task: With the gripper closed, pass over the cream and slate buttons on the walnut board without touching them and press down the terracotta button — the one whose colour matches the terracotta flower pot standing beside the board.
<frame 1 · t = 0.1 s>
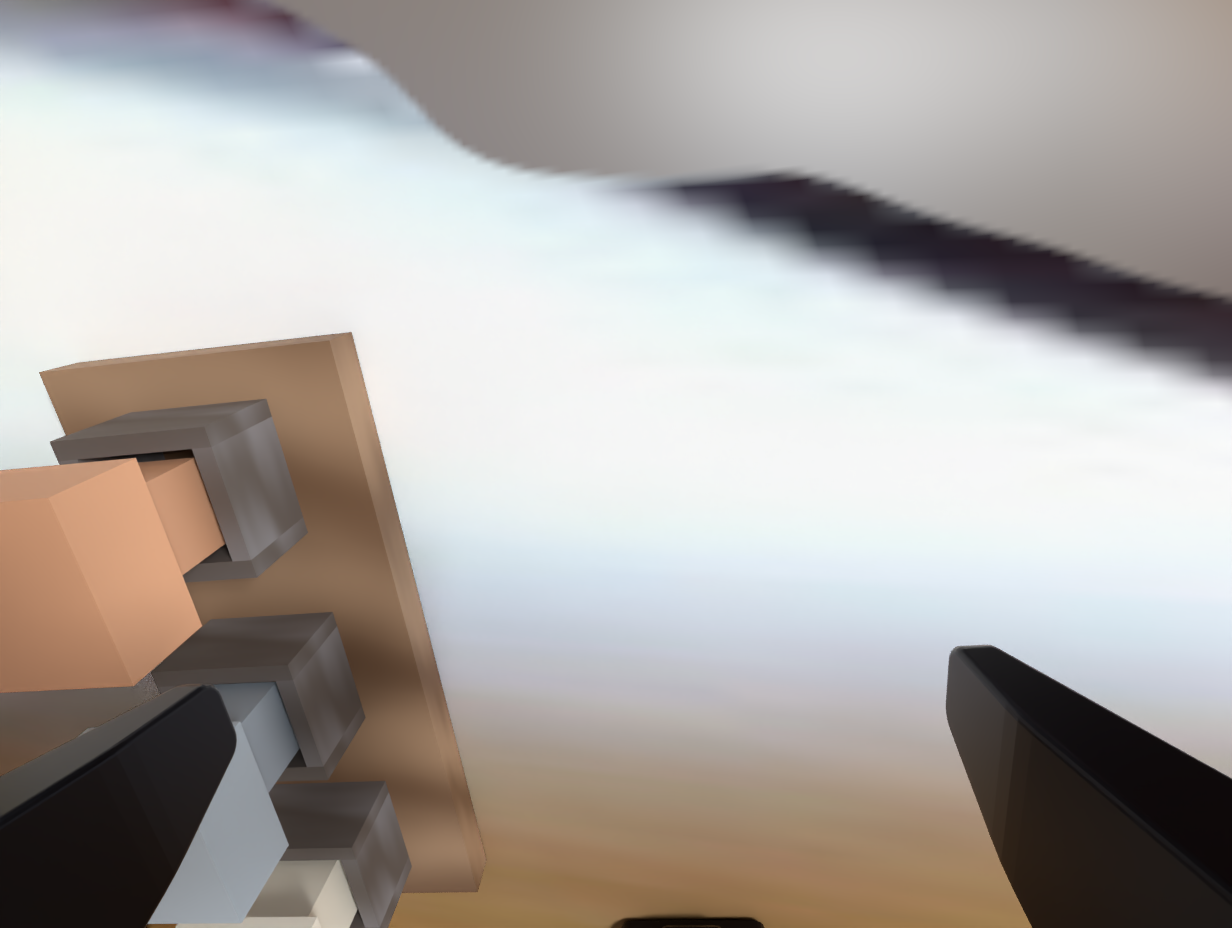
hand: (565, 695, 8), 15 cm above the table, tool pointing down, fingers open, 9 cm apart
walnut button board: (310, 645, 26), on the table
slate button: (197, 780, 20), point 7 cm above the table, slide at 0.0 cm
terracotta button: (95, 547, 17), point 7 cm above the table, slide at 0.0 cm
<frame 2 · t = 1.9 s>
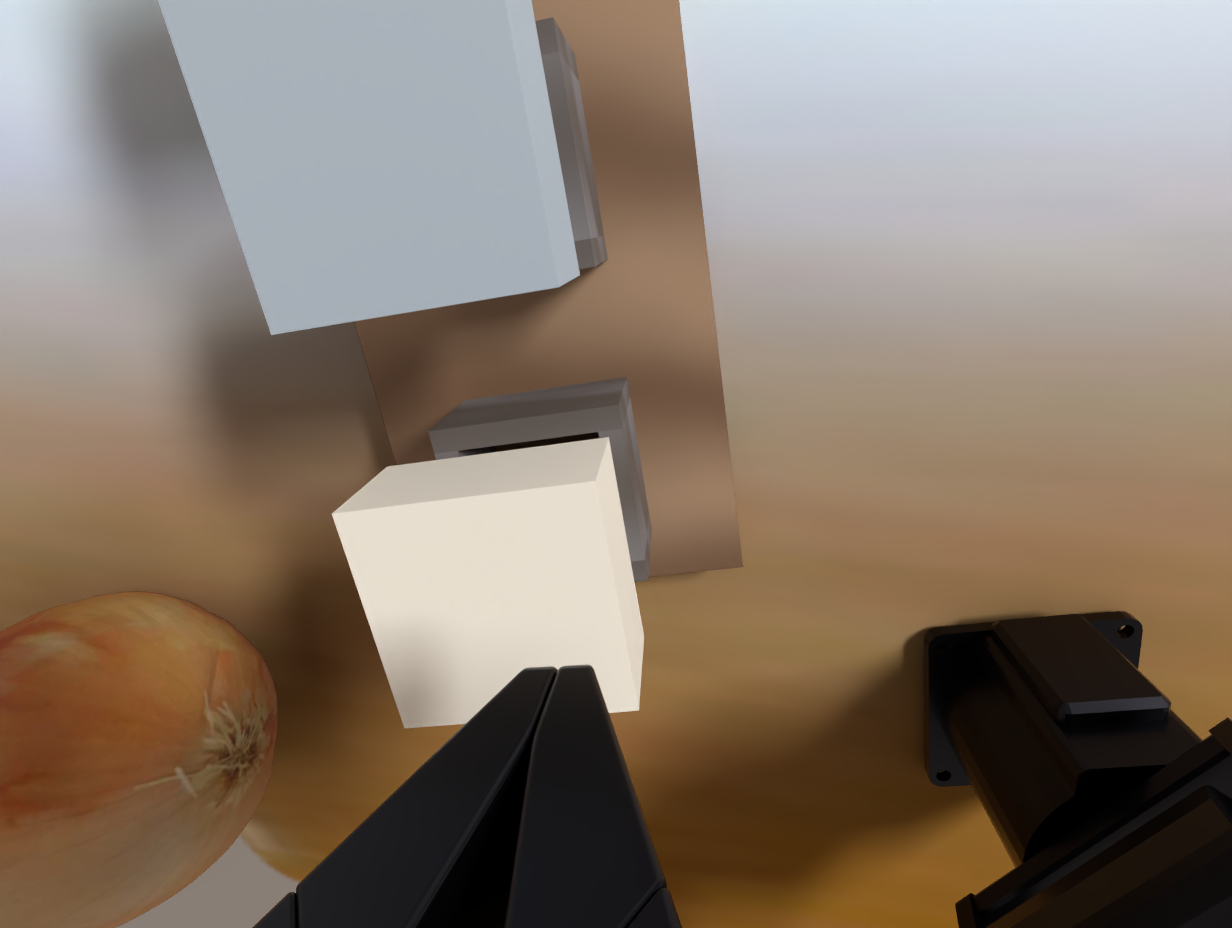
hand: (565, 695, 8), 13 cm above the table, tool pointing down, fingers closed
onion: (213, 653, 25), on the table
cream button: (522, 548, 15), point 7 cm above the table, slide at 0.0 cm
walnut button board: (514, 182, 18), on the table
slate button: (431, 161, 12), point 7 cm above the table, slide at 0.0 cm
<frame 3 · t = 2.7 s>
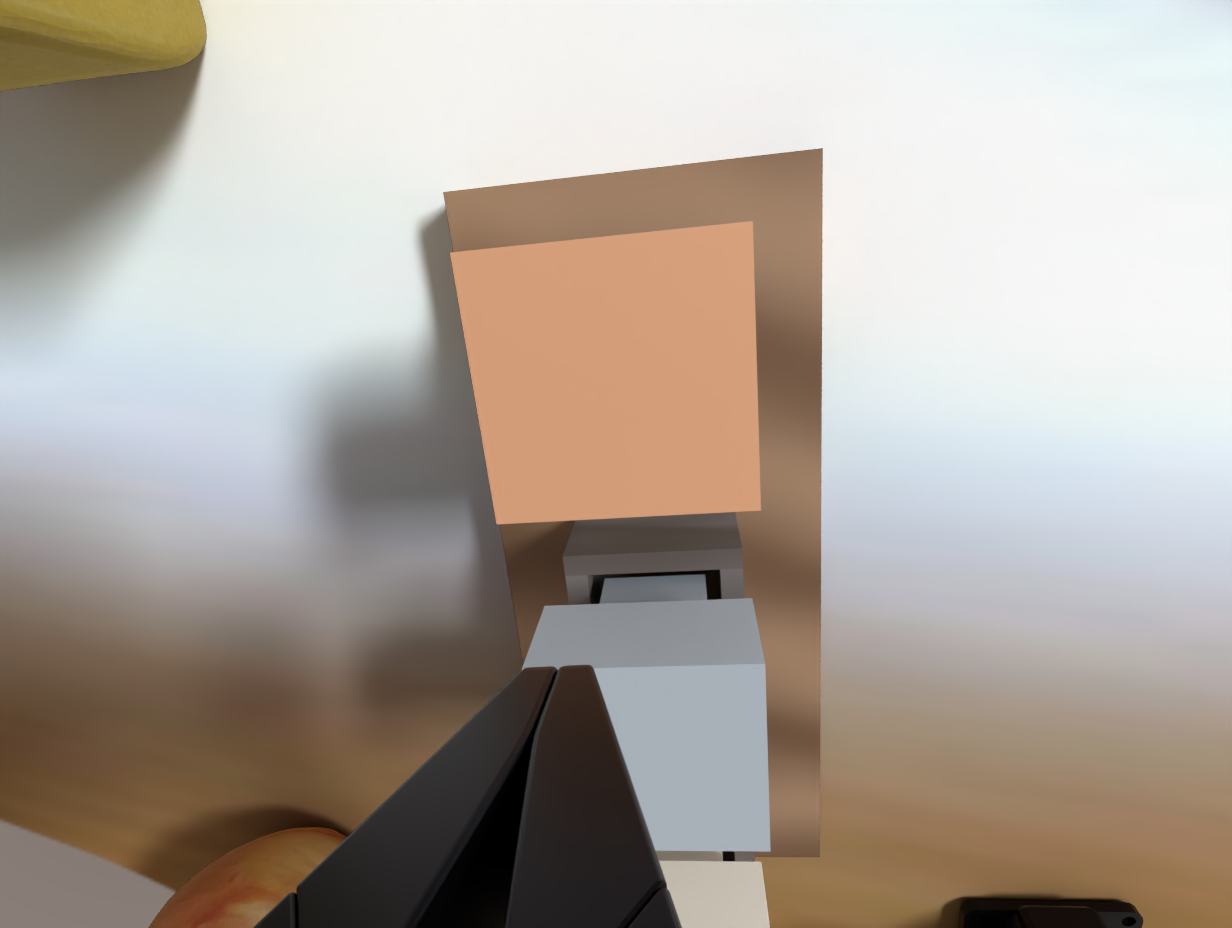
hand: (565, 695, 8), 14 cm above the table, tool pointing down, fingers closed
onion: (341, 857, 29), on the table
cream button: (676, 913, 19), point 7 cm above the table, slide at 0.0 cm
walnut button board: (661, 555, 22), on the table
slate button: (655, 680, 16), point 7 cm above the table, slide at 0.0 cm
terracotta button: (624, 358, 14), point 7 cm above the table, slide at 0.0 cm
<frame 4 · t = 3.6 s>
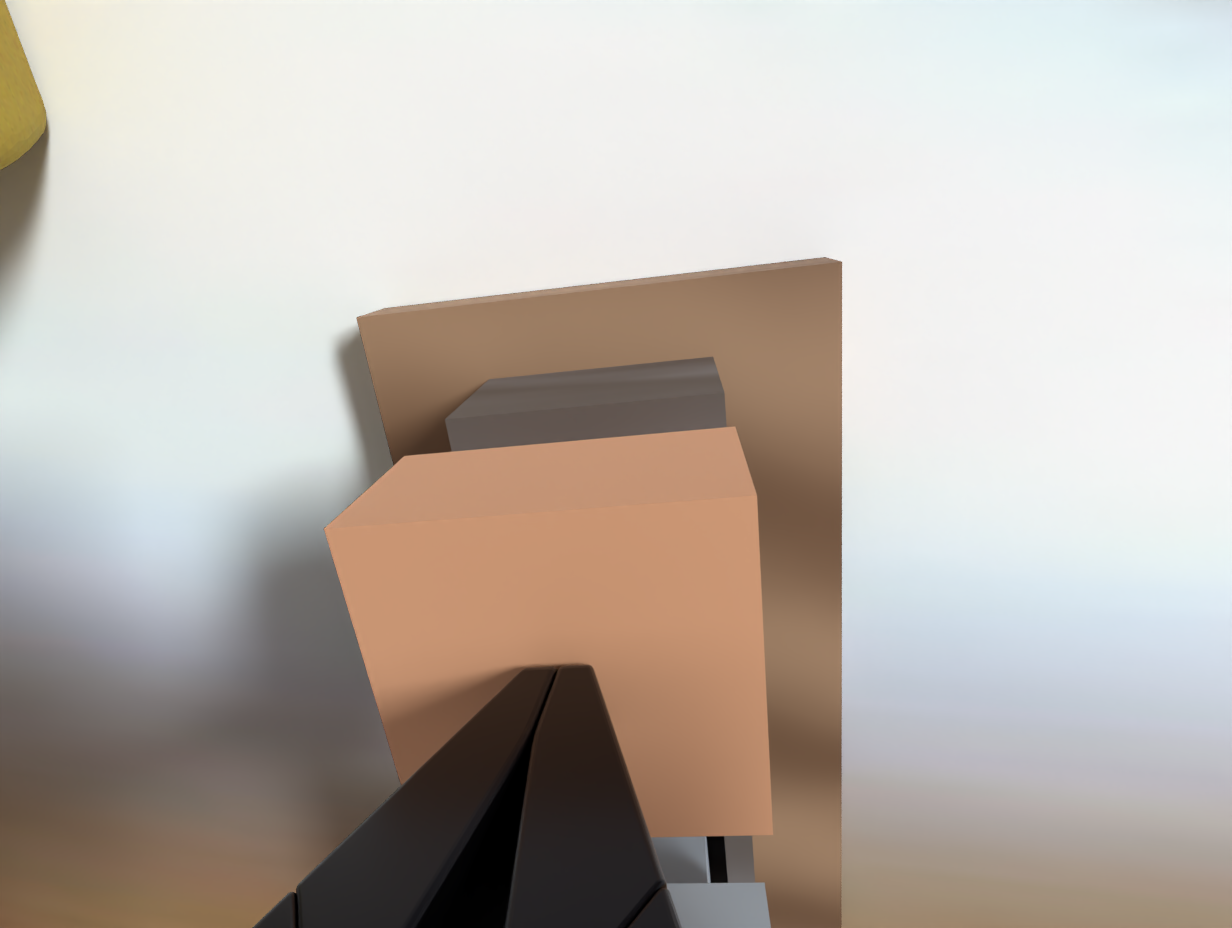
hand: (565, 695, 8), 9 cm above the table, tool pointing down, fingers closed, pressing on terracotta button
walnut button board: (649, 712, 19), on the table
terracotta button: (589, 577, 10), point 6 cm above the table, slide at 0.7 cm, touching gripper
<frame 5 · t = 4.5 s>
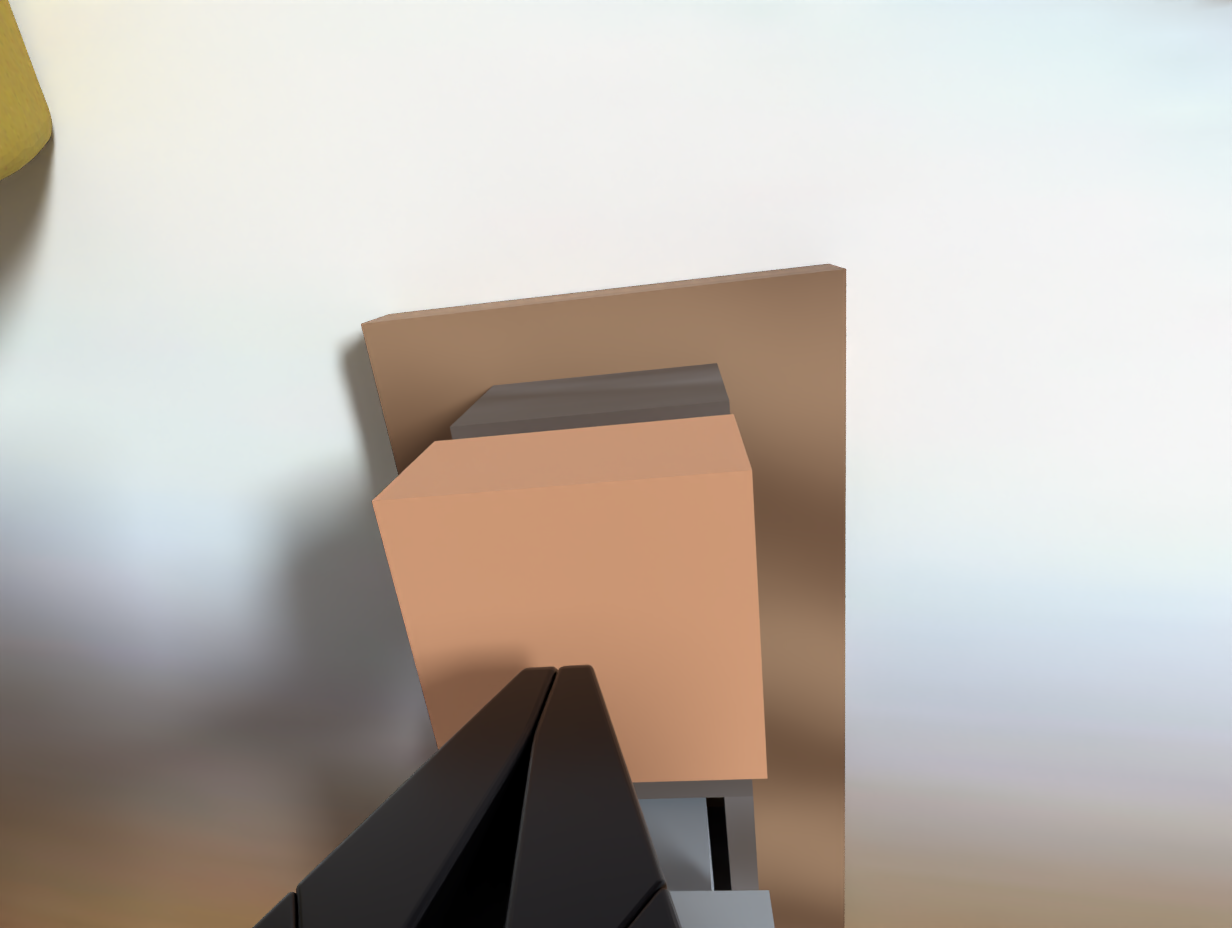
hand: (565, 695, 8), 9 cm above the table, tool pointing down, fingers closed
walnut button board: (652, 716, 19), on the table
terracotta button: (601, 553, 11), point 5 cm above the table, slide at 1.7 cm
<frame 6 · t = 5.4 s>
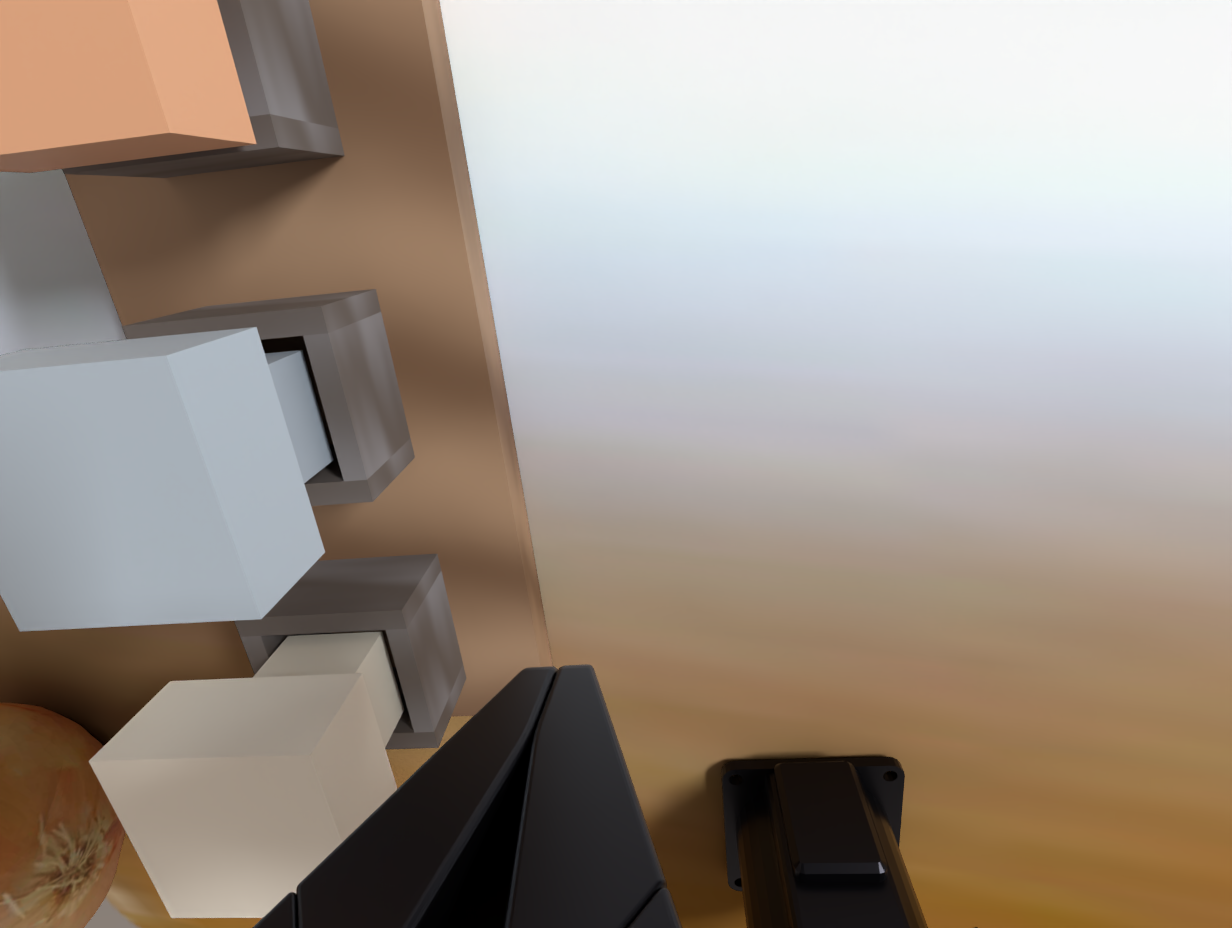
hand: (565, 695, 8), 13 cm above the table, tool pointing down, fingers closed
onion: (75, 744, 27), on the table
cream button: (299, 745, 17), point 7 cm above the table, slide at 0.0 cm
walnut button board: (338, 371, 20), on the table
slate button: (191, 450, 14), point 7 cm above the table, slide at 0.0 cm
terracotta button: (105, 18, 12), point 5 cm above the table, slide at 1.7 cm
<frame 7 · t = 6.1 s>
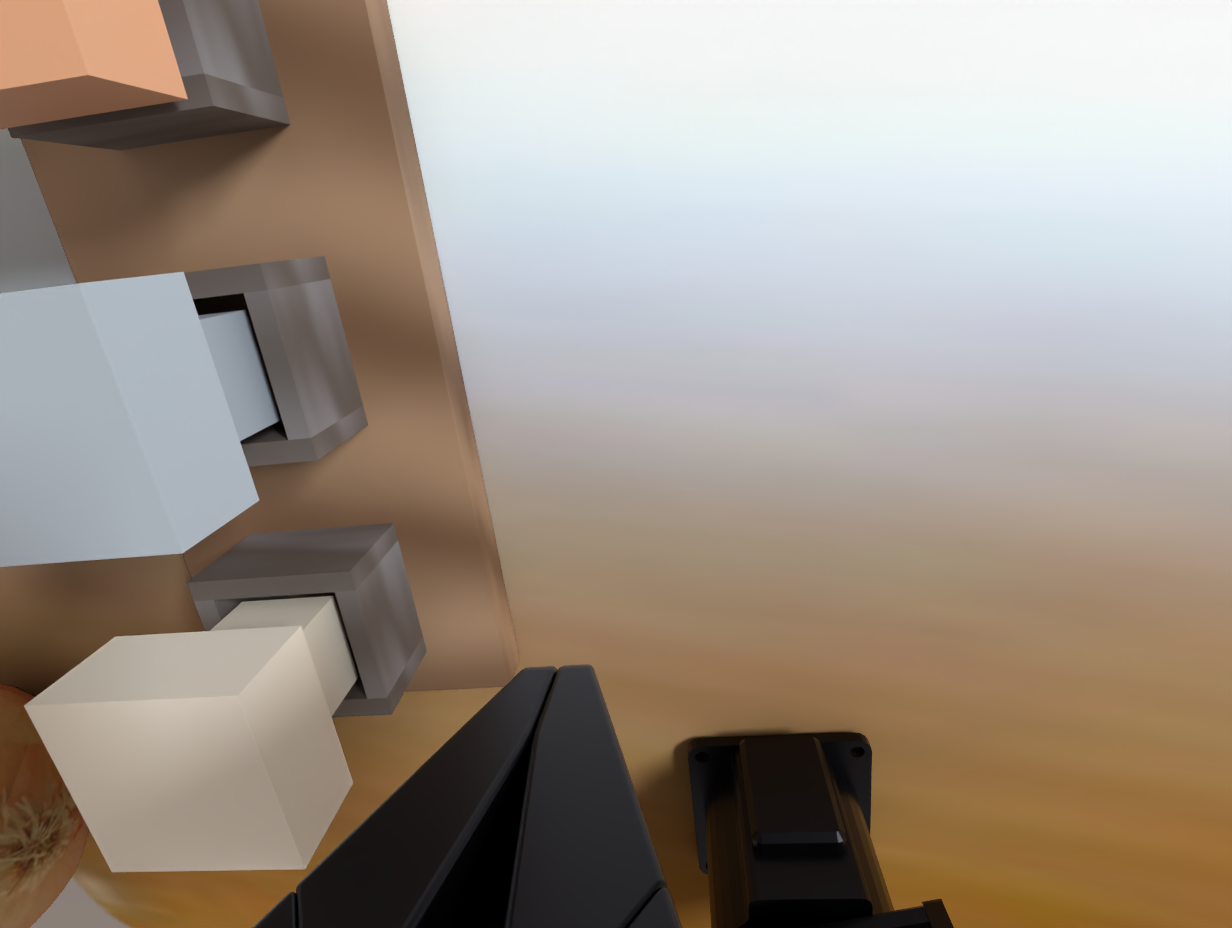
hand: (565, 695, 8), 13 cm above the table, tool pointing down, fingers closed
onion: (50, 727, 27), on the table
cream button: (245, 703, 17), point 7 cm above the table, slide at 0.0 cm
walnut button board: (296, 343, 20), on the table
slate button: (128, 400, 14), point 7 cm above the table, slide at 0.0 cm
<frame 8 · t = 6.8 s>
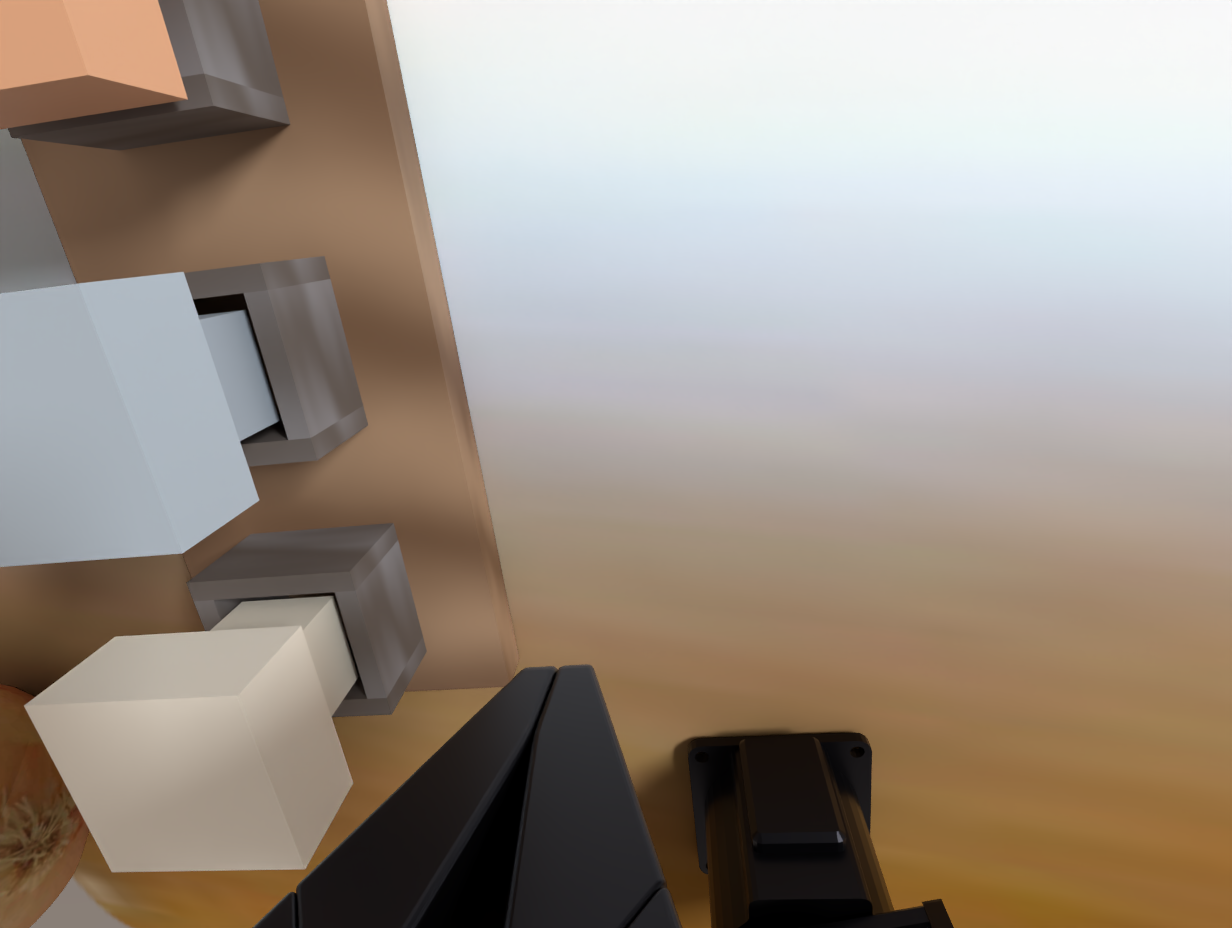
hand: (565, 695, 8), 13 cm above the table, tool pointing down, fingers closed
onion: (50, 727, 27), on the table
cream button: (245, 703, 17), point 7 cm above the table, slide at 0.0 cm
walnut button board: (296, 343, 20), on the table
slate button: (128, 400, 14), point 7 cm above the table, slide at 0.0 cm
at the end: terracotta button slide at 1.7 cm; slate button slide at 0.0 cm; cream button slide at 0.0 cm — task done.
